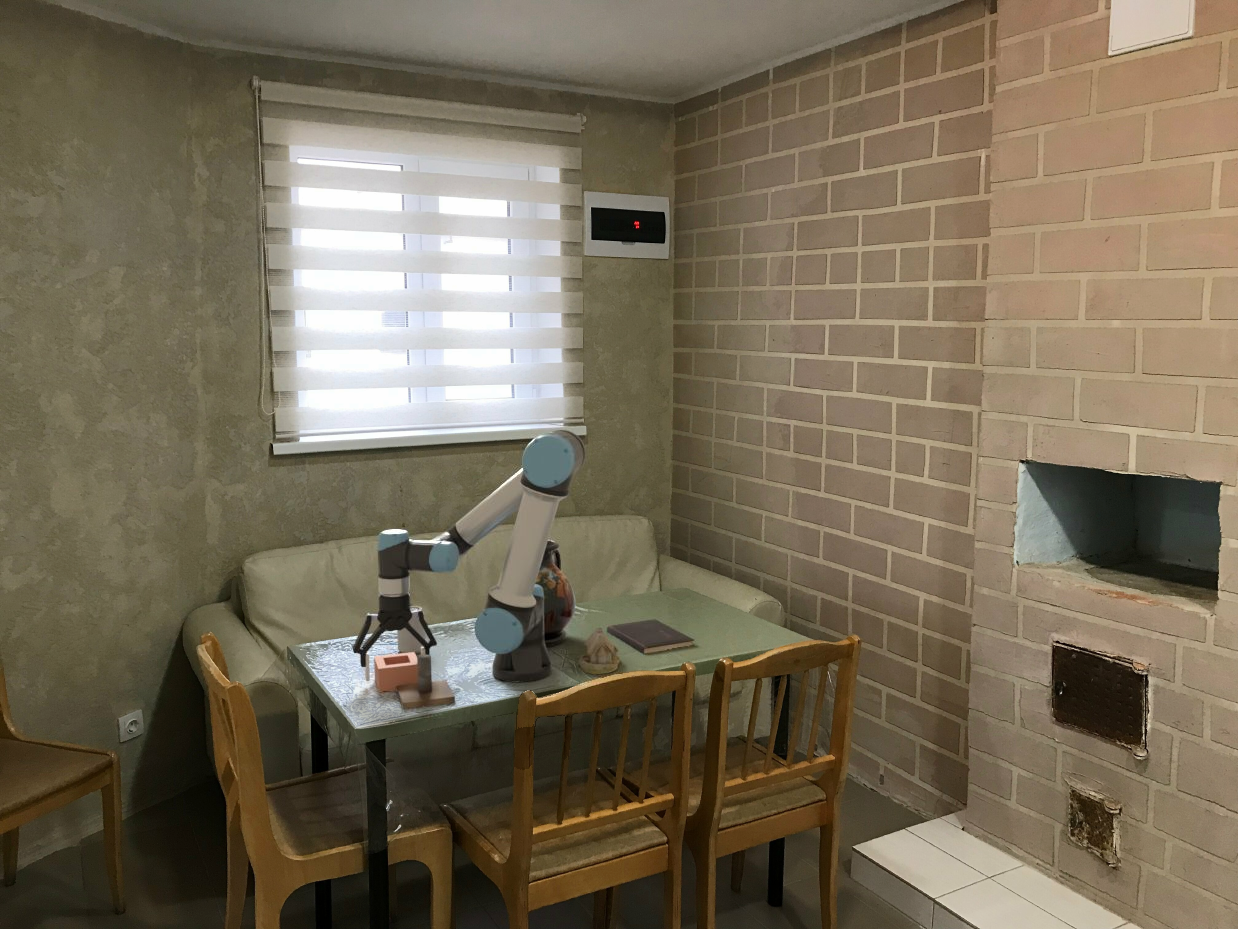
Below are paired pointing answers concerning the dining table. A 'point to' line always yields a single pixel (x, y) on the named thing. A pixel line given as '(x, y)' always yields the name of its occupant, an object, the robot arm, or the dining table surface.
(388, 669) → the collar
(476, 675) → the dining table surface
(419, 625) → the can
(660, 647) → the hardcover book
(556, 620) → the amphora vase
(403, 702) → the post stand
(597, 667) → the ceramic model
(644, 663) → the dining table surface
